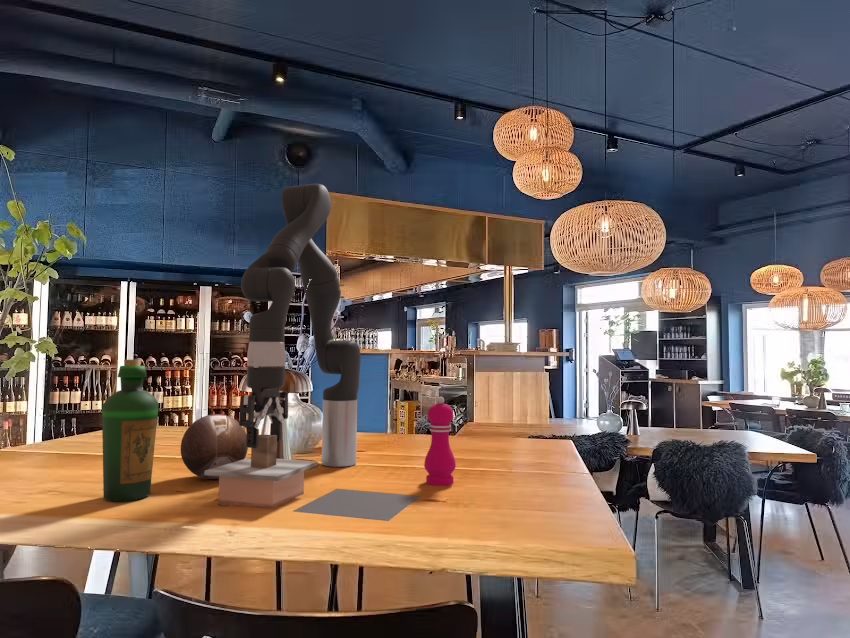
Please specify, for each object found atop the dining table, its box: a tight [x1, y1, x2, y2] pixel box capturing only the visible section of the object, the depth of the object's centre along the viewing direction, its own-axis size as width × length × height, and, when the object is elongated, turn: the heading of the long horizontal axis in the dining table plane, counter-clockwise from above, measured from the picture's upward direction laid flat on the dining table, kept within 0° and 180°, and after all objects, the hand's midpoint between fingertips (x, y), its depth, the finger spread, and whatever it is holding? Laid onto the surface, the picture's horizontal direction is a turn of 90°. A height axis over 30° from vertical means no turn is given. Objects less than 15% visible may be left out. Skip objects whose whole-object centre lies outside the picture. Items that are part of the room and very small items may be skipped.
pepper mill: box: [423, 396, 456, 487], centre depth 133 cm, size 7×7×20 cm
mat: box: [293, 488, 421, 522], centre depth 113 cm, size 19×19×1 cm
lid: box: [204, 433, 319, 481], centre depth 117 cm, size 16×16×7 cm
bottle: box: [101, 359, 160, 503], centre depth 118 cm, size 11×11×28 cm
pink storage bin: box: [217, 470, 305, 509], centre depth 117 cm, size 12×12×6 cm
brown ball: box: [180, 413, 249, 480], centre depth 136 cm, size 15×15×15 cm
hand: (264, 444), depth 117 cm, fingers open, 8 cm apart
